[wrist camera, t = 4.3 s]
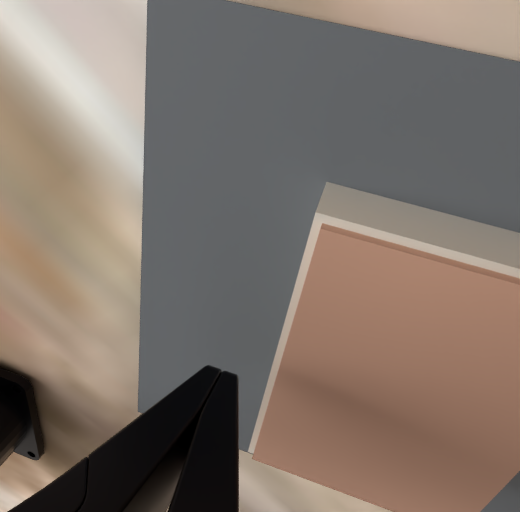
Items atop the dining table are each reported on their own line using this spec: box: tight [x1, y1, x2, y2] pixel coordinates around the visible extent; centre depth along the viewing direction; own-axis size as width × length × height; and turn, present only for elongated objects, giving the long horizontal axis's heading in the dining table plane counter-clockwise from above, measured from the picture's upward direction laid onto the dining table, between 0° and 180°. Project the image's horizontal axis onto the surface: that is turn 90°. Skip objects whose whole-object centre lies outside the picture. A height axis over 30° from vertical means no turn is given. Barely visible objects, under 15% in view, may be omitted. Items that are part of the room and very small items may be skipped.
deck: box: [248, 182, 520, 512], centre depth 11 cm, size 9×2×7 cm
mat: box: [138, 0, 520, 512], centre depth 12 cm, size 16×16×1 cm
